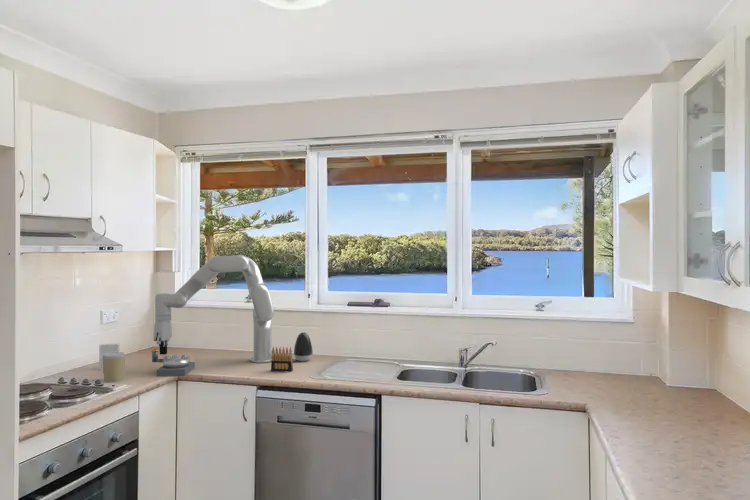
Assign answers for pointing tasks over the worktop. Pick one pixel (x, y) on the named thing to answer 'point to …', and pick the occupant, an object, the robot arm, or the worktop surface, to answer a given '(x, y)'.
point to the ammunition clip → (281, 360)
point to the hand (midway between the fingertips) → (163, 354)
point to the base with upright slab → (106, 351)
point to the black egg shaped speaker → (303, 347)
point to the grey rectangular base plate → (175, 370)
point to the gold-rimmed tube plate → (171, 360)
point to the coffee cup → (113, 366)
